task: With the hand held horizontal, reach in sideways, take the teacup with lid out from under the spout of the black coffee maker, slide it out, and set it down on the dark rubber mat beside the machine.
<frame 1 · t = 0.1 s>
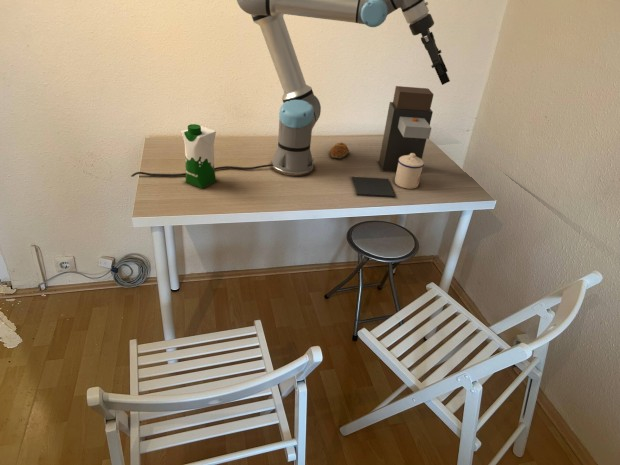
hand: (445, 77, 162), 36 cm above the table, tool tilted 35°, fingers open, 13 cm apart
rubber mat: (372, 187, 167), on the table
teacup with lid: (405, 182, 173), on the table
coffee maker: (405, 181, 173), on the table
milk carton: (201, 182, 159), on the table
pastry: (339, 155, 189), on the table
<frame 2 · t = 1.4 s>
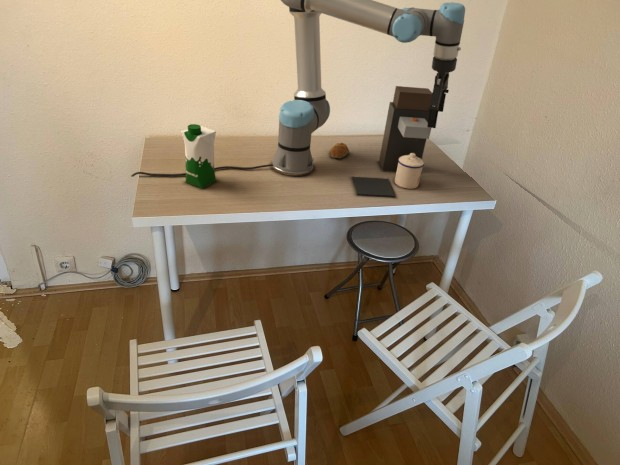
hand: (435, 119, 164), 23 cm above the table, tool pointing down, fingers open, 13 cm apart
nothing on the table moved.
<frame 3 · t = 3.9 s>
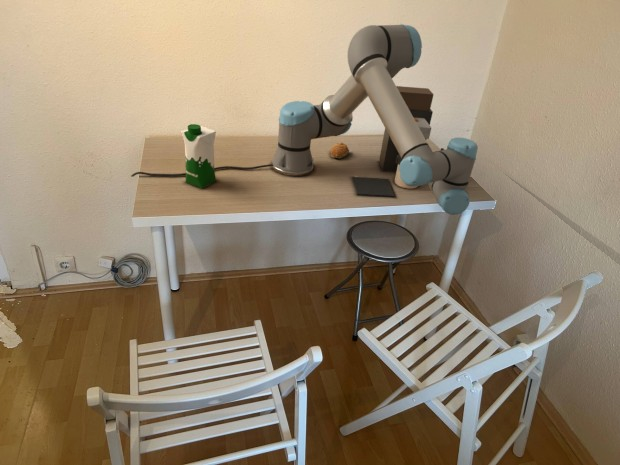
hand: (421, 150, 157), 16 cm above the table, tool horizontal, fingers open, 13 cm apart
nothing on the table moved.
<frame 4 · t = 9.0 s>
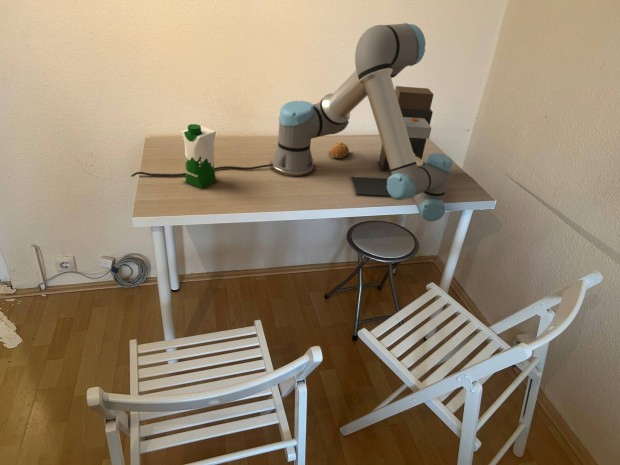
hand: (406, 159, 174), 7 cm above the table, tool horizontal, fingers closed on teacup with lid, 9 cm apart
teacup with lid: (404, 182, 173), on the table, touching gripper
everything else where it was.
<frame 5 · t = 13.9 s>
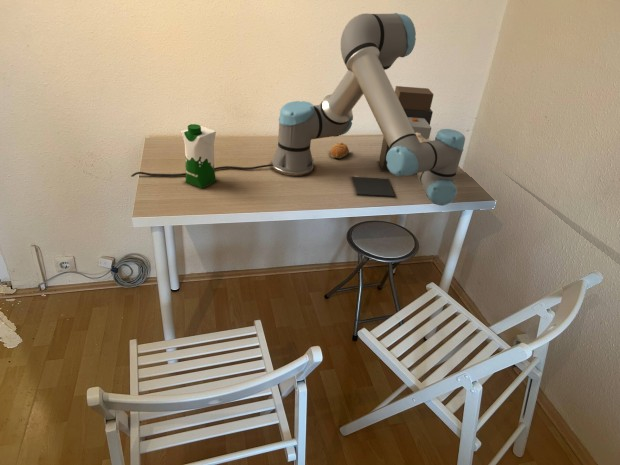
hand: (410, 141, 159), 18 cm above the table, tool horizontal, fingers closed on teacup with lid, 9 cm apart
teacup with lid: (409, 165, 159), point 11 cm above the table, touching gripper
everything else where it was.
when the fingers open (7 cm above the table, at t = 19.0 s): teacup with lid stays where it is, resting on rubber mat.
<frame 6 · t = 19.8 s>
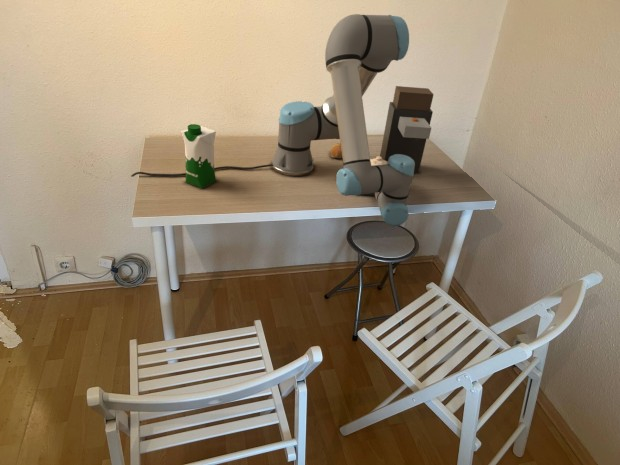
hand: (375, 162, 165), 8 cm above the table, tool horizontal, fingers open, 13 cm apart
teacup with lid: (372, 186, 167), resting on rubber mat
everything else where it was.
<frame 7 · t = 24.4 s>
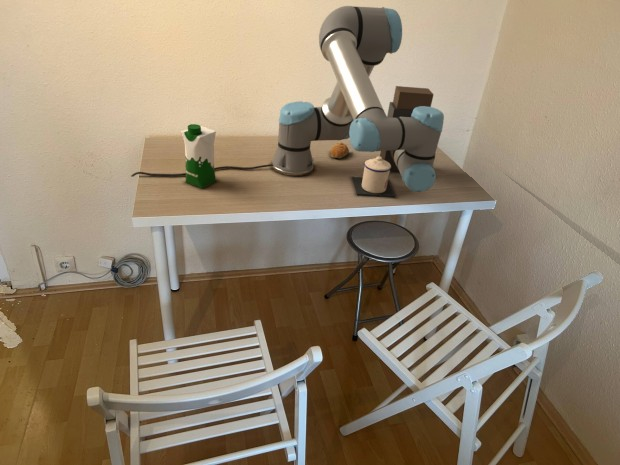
hand: (391, 126, 145), 26 cm above the table, tool horizontal, fingers open, 13 cm apart
nothing on the table moved.
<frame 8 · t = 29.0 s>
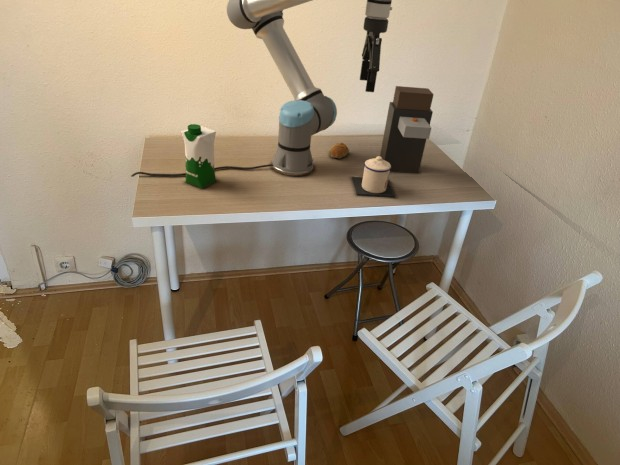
hand: (366, 85, 160), 32 cm above the table, tool pointing down, fingers open, 13 cm apart
nothing on the table moved.
at the end: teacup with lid inside the target area on the rubber mat (0.2 cm from its centre), point 0.4 cm above the rubber mat's base; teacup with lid tilted 0°; the gripper is holding nothing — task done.
